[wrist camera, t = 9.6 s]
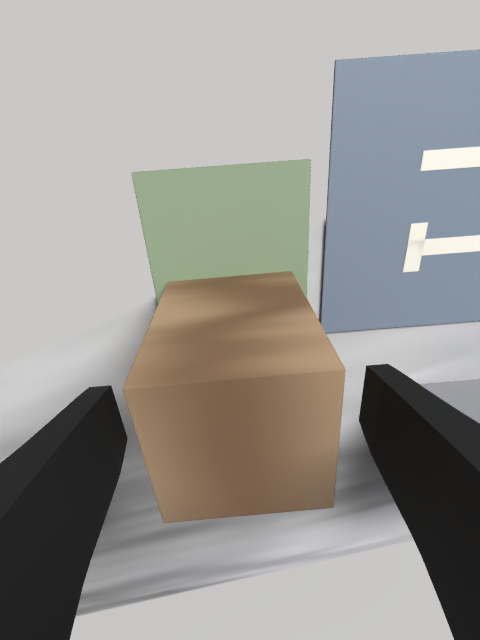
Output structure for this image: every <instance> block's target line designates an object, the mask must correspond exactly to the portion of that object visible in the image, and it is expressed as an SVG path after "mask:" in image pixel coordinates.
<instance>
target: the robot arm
mask: <svg viewBox="0 0 480 640" xmlns="http://www.w3.org/2000/svg"><path fill="white" fill-rule="evenodd" d="M359 422H360V424H361V427H362V430H363V433H364V436H365V439H366V442H367V444H368V447H369V450H370V452H371V455H372V457H373V459H374V461H375V463H376V465H377V467H378V469H379V471H380V473H381V475H382V477H383V479H384V481H385V483H386V485H387V487H388V489H389V491H390V493H391V495H392V497H393V499H394V501H395V503H396V505H397V507H398V509H399V511H400V513H401V515H402V517H403V519H404V521H405V522H406V524H407V526H408V528H409V530H410V532H411V534H412V536H413V539H414V541H415V543H416V545H417V547H418V549H419V552H420V554H421V556H422V558H423V561H424V563H425V566H426V568H427V570H428V573H429V576H430V578H431V581H432V583H433V586H434V588H435V591H436V593H437V596H438V598H439V601H440V603H441V605H442V608H443V611H444V614H445V616H446V619H447V622H448V624H449V627H450V629H451V632H452V635H453V637H454V640H480V423H478V422H477V421H475V420H473V419H472V418H470V417H469V416H467V415H465V414H464V413H462V412H461V411H459V410H457V409H456V408H454V407H453V406H451V405H450V404H448V403H447V402H445V401H444V400H442V399H441V398H439V397H438V396H436V395H434V394H433V393H431V392H430V391H428V390H427V389H425V388H424V387H423V386H421V385H420V384H418V383H417V382H415V381H414V380H412V379H411V378H409V377H408V376H406V375H405V374H403V373H402V372H400V371H398V370H397V369H395V368H394V367H392V366H390V365H389V364H383V365H370V366H366V372H365V380H364V387H363V394H362V402H361V409H360V416H359ZM126 443H127V435H126V432H125V429H124V426H123V422H122V419H121V416H120V413H119V409H118V406H117V403H116V400H115V397H114V393H113V390H112V387H111V386H100V387H89V388H88V389H87V390H85V391H84V392H83V393H82V394H81V395H79V396H78V397H77V398H76V399H75V400H74V401H72V402H71V403H70V404H69V405H68V406H67V407H66V408H65V409H63V410H62V411H61V412H60V413H59V414H58V415H57V416H56V417H54V418H53V419H52V420H51V421H50V422H49V423H48V424H46V425H45V426H44V427H43V428H42V429H41V430H40V431H38V432H37V433H36V434H35V435H34V436H33V437H32V438H30V439H29V440H28V441H27V442H26V443H25V444H23V445H22V446H21V447H20V448H19V449H17V450H16V451H15V452H14V453H12V454H11V455H10V456H9V457H8V458H6V459H5V460H4V461H3V462H1V463H0V640H70V635H71V631H72V627H73V623H74V619H75V615H76V611H77V607H78V603H79V599H80V595H81V591H82V587H83V583H84V580H85V577H86V573H87V570H88V567H89V564H90V560H91V558H92V555H93V552H94V549H95V546H96V543H97V540H98V537H99V534H100V531H101V529H102V526H103V523H104V520H105V517H106V514H107V511H108V508H109V505H110V502H111V499H112V497H113V494H114V491H115V488H116V485H117V482H118V479H119V475H120V472H121V467H122V463H123V458H124V453H125V448H126Z"/></svg>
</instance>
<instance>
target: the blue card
mask: <svg viewBox="0 0 480 640" xmlns="http://www.w3.org/2000/svg"><path fill="white" fill-rule="evenodd" d="M469 321H480V50H469V51H455V52H440V53H427V54H413V55H399V56H385V57H372V58H357V59H344V60H335V69H334V86H333V106H332V123H331V142H330V160H329V179H328V197H327V215H326V233H325V252H324V270H323V288H322V307H321V326H322V328H323V329H324V331H325V333H330V332H343V331H355V330H368V329H381V328H393V327H406V326H419V325H431V324H444V323H457V322H469Z"/></svg>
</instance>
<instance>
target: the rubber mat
mask: <svg viewBox="0 0 480 640" xmlns="http://www.w3.org/2000/svg"><path fill="white" fill-rule="evenodd" d="M310 173H311V160H310V159H304V160H290V161H278V162H263V163H250V164H237V165H223V166H210V167H197V168H183V169H170V170H157V171H143V172H133V173H132V178H133V183H134V188H135V193H136V198H137V203H138V208H139V213H140V218H141V223H142V228H143V233H144V238H145V243H146V248H147V253H148V258H149V263H150V268H151V273H152V278H153V283H154V288H155V293H156V298H157V303H158V304H159V301H160V299H161V297H162V294H163V292H164V289H165V287H166V285H167V282H172V281H183V280H194V279H206V278H217V277H228V276H240V275H251V274H262V273H274V272H285V271H292V273H293V275H294V276H295V278H296V280H297V282H298V284H299V286H300V287H301V289H302V291H303V293H304V295H305V297H306V298H307V271H308V238H309V205H310V204H309V203H310Z"/></svg>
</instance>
